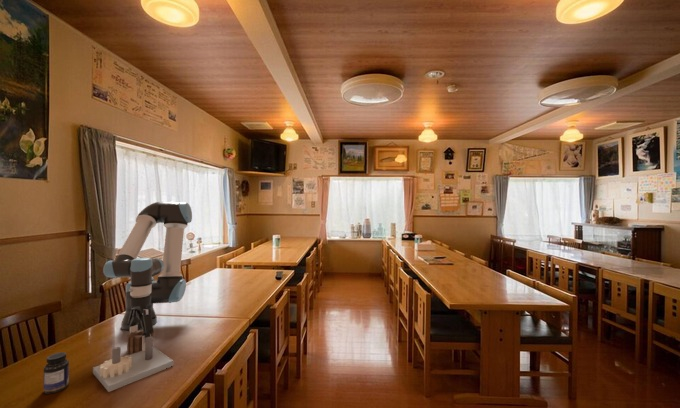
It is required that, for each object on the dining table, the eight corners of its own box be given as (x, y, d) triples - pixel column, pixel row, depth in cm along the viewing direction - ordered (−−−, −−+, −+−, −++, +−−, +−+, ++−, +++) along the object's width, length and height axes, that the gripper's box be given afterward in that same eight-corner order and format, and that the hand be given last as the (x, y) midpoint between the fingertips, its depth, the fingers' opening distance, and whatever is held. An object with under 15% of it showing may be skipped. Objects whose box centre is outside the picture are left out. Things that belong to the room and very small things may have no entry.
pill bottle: (54, 383, 100) (55, 351, 101) (73, 382, 101) (74, 350, 101) (37, 395, 94) (38, 360, 94) (58, 394, 95) (58, 359, 95)
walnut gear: (123, 350, 123) (123, 334, 123) (147, 343, 130) (148, 327, 130) (131, 357, 118) (131, 340, 118) (156, 349, 125) (156, 332, 125)
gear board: (92, 373, 107) (93, 345, 107) (153, 351, 123) (154, 327, 123) (108, 392, 96) (108, 361, 96) (173, 365, 112) (173, 339, 112)
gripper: (119, 292, 129) (118, 340, 128) (142, 302, 114) (141, 357, 113) (139, 288, 135) (138, 334, 134) (163, 298, 120) (162, 350, 119)
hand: (139, 345), depth 124 cm, fingers open, 13 cm apart
